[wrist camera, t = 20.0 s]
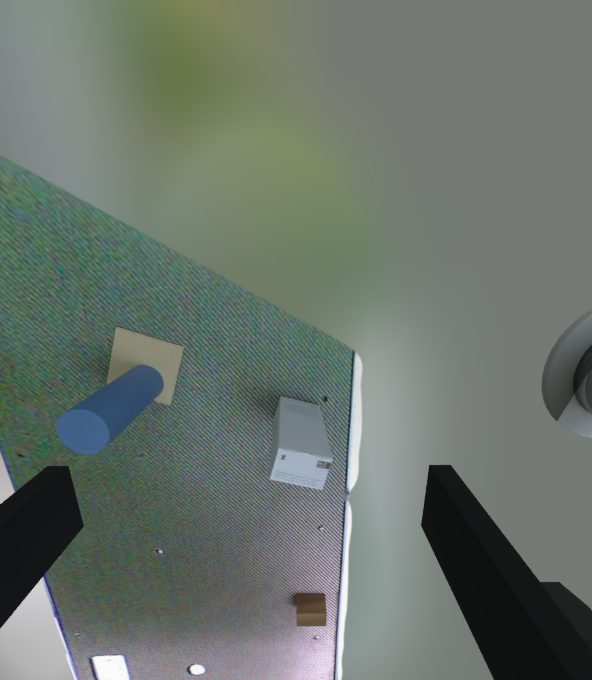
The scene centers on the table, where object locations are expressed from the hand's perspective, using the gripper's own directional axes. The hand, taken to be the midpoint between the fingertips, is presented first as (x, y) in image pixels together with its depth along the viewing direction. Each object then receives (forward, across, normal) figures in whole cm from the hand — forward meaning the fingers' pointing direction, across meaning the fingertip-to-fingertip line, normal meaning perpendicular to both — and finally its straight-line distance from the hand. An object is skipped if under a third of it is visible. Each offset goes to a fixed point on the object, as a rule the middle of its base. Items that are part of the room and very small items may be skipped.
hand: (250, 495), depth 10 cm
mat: (+28, -19, -5) cm, 34 cm away
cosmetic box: (+28, +2, -12) cm, 31 cm away
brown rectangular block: (+28, +4, -50) cm, 58 cm away
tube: (+21, -21, -5) cm, 30 cm away
